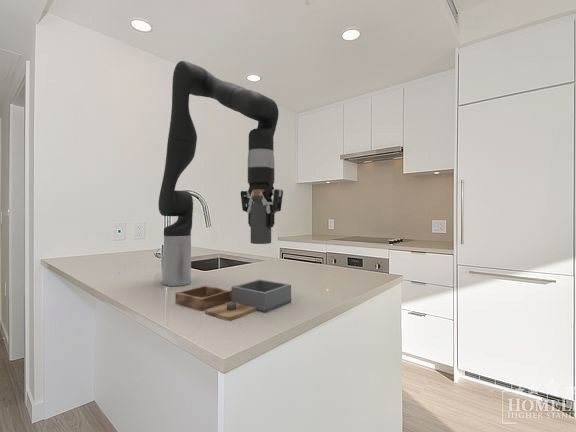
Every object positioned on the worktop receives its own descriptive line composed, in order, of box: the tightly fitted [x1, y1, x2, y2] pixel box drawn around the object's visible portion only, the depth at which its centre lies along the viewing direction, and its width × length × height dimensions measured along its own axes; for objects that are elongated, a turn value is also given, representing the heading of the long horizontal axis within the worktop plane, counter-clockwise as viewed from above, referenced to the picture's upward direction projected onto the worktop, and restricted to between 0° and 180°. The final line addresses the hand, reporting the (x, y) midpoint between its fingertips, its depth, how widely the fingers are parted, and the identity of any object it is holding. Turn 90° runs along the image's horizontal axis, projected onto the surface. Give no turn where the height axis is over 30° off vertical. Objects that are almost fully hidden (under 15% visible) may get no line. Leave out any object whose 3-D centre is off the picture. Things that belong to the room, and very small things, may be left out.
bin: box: [230, 279, 292, 314], centre depth 90 cm, size 12×12×5 cm
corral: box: [174, 285, 231, 312], centre depth 91 cm, size 11×11×3 cm
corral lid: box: [204, 301, 257, 322], centre depth 82 cm, size 9×10×2 cm
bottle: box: [250, 189, 272, 245], centre depth 89 cm, size 6×6×15 cm
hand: (261, 226), depth 89 cm, fingers closed on bottle, 6 cm apart
